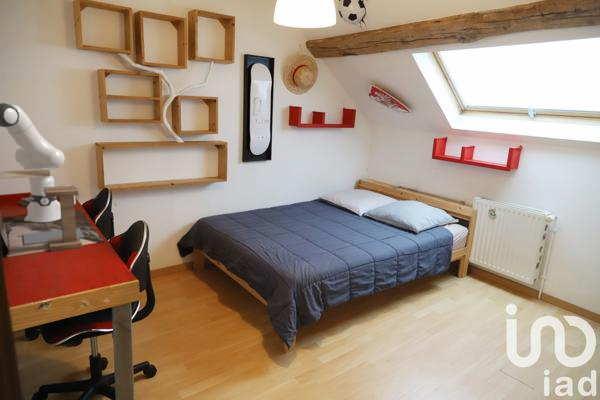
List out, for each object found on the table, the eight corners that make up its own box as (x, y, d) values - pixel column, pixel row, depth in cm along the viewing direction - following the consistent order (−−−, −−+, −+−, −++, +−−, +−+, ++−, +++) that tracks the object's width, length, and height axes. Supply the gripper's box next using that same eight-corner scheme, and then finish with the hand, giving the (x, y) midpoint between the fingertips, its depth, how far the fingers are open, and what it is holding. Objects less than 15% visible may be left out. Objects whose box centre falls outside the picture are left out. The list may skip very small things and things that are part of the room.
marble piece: (35, 209, 238) (34, 202, 238) (14, 207, 242) (13, 200, 241) (57, 203, 254) (57, 196, 253) (38, 201, 257) (37, 194, 257)
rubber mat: (23, 235, 195) (22, 234, 195) (79, 228, 209) (79, 227, 209) (24, 245, 183) (24, 244, 183) (84, 237, 197) (84, 237, 196)
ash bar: (-6, 177, 174) (-7, 170, 173) (49, 175, 185) (49, 168, 185) (-6, 179, 172) (-7, 172, 171) (50, 176, 183) (49, 169, 182)
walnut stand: (48, 243, 187) (43, 187, 181) (77, 239, 194) (74, 185, 188) (50, 251, 178) (46, 192, 172) (81, 247, 185) (78, 190, 179)
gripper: (-38, 190, 159) (-2, 171, 165) (-35, 180, 175) (-2, 163, 181) (-26, 203, 162) (9, 184, 168) (-24, 192, 178) (8, 175, 184)
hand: (3, 173), depth 174 cm, fingers closed on ash bar, 3 cm apart
